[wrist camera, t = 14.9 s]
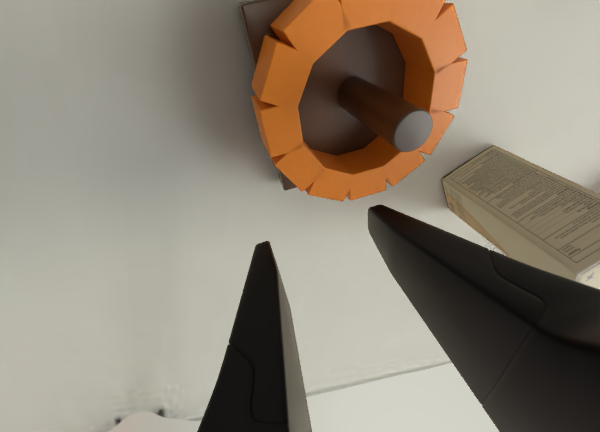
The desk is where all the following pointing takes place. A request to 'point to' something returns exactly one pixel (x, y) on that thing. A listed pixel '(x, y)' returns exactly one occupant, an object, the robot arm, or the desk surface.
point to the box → (529, 213)
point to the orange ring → (313, 44)
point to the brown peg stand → (347, 88)
